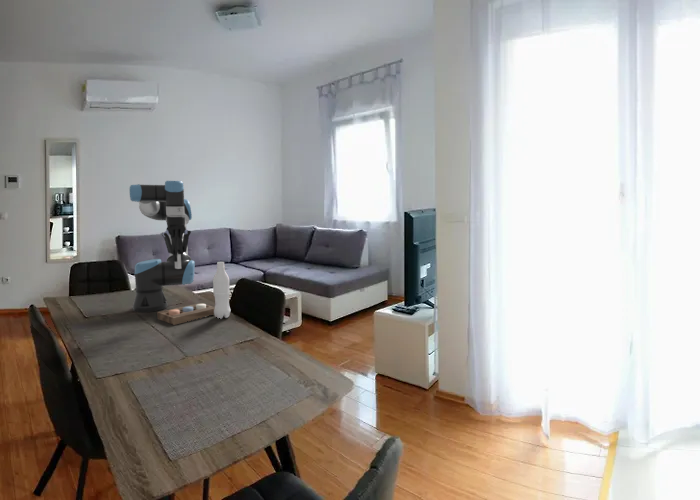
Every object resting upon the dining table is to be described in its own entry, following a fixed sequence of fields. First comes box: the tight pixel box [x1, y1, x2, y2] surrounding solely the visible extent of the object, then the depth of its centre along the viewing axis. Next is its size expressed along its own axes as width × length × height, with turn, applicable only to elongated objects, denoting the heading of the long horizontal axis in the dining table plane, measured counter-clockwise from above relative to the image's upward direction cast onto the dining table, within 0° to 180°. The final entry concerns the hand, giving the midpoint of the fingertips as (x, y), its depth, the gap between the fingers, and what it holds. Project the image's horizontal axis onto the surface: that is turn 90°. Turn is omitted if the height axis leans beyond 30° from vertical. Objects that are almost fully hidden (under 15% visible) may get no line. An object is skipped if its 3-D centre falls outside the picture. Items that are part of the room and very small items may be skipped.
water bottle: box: [212, 261, 231, 320], centre depth 184 cm, size 7×7×25 cm
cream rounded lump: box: [196, 303, 207, 309], centre depth 191 cm, size 4×4×4 cm
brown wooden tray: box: [156, 302, 215, 326], centre depth 186 cm, size 14×21×3 cm, turn 142°
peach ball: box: [169, 308, 180, 316], centre depth 181 cm, size 4×4×4 cm
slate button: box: [182, 305, 193, 312], centre depth 186 cm, size 4×4×4 cm
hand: (178, 268), depth 186 cm, fingers closed
